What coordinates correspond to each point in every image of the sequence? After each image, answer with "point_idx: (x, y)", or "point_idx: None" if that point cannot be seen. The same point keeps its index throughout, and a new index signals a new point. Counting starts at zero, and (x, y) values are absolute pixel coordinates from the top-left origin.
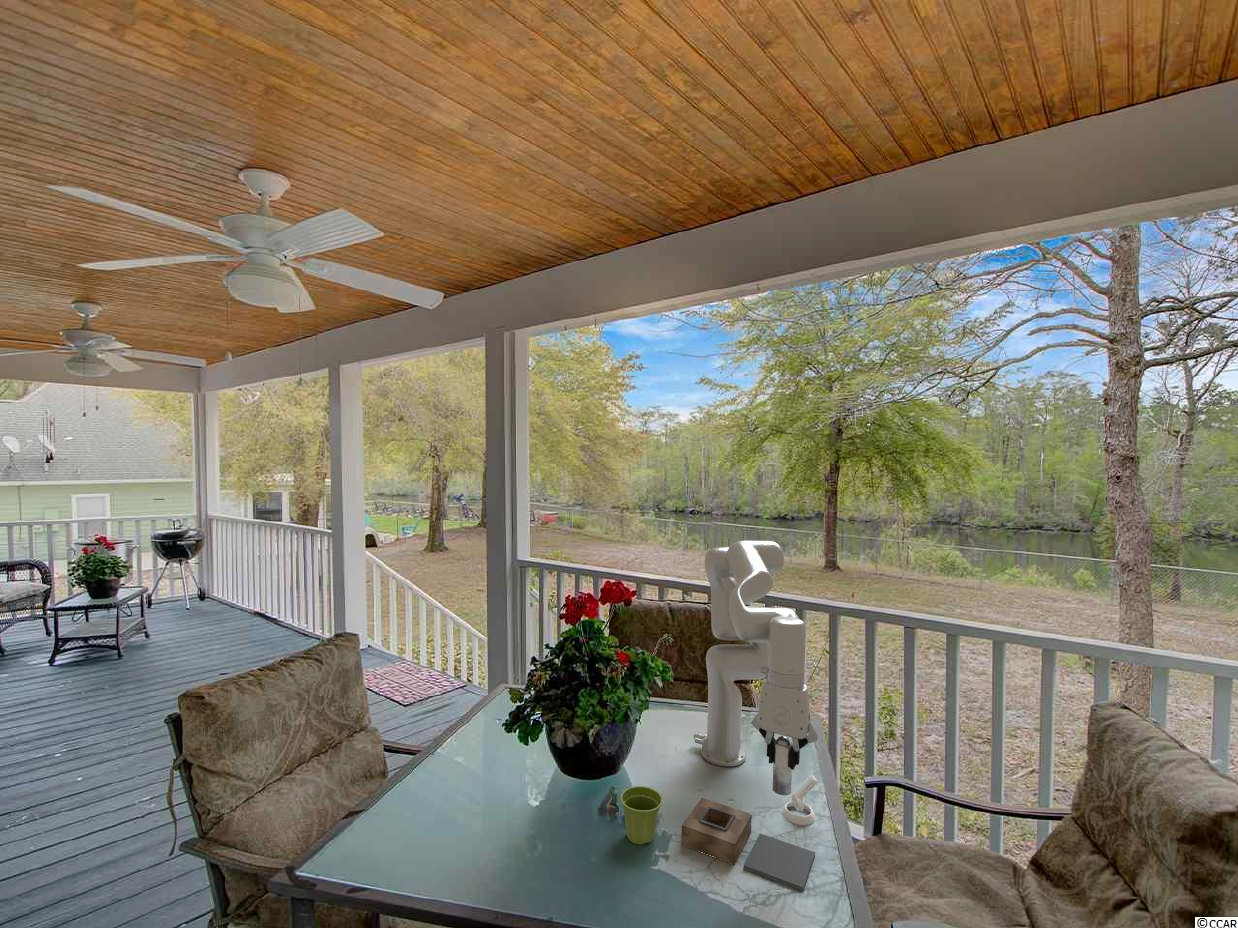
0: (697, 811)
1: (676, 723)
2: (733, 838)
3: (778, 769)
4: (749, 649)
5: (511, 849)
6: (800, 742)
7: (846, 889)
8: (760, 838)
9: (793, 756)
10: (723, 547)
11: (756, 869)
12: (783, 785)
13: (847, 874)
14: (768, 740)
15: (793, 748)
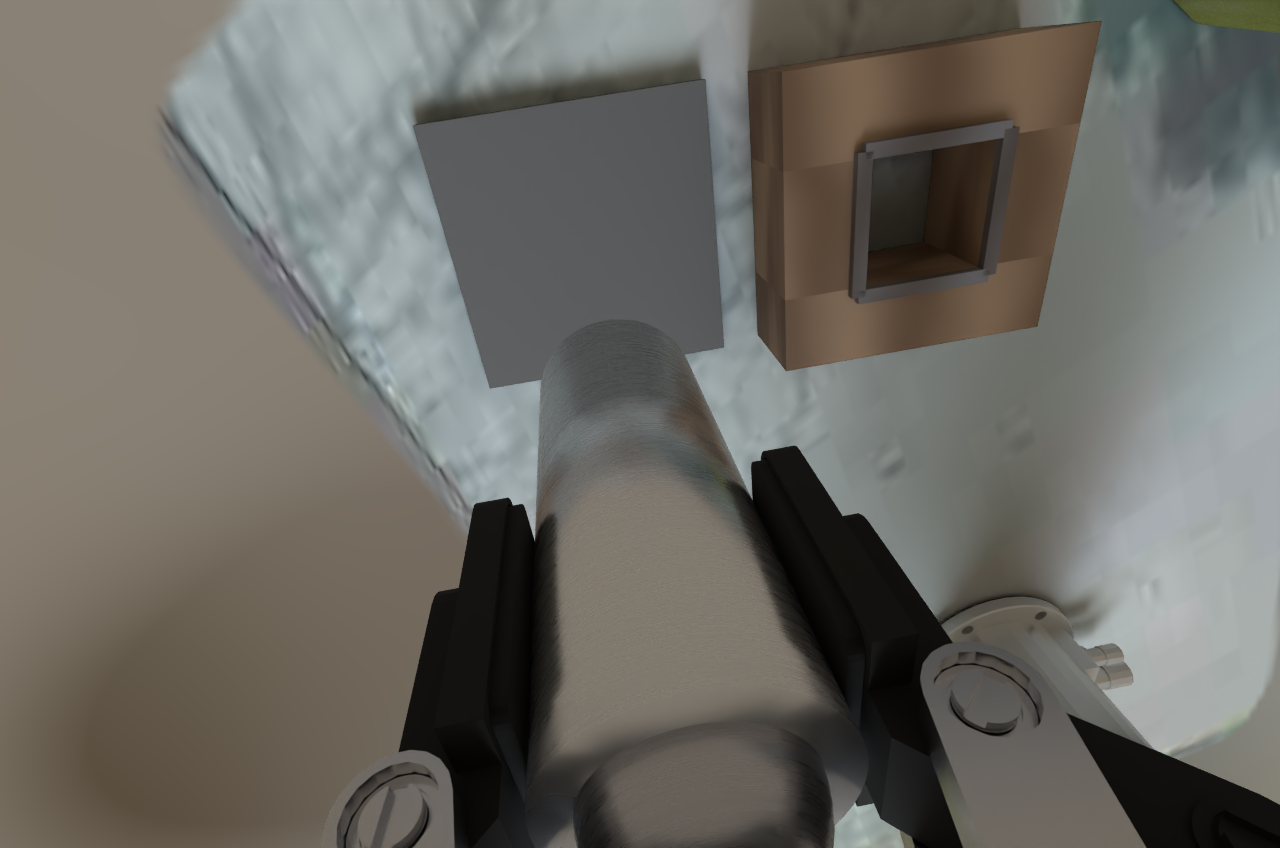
0: (1037, 204)
1: (1175, 694)
2: (804, 115)
3: (652, 427)
4: None
5: None
6: None
7: (290, 274)
8: (709, 317)
9: (452, 639)
10: None
11: (642, 93)
12: (579, 366)
13: (339, 364)
14: (977, 706)
15: (451, 780)
